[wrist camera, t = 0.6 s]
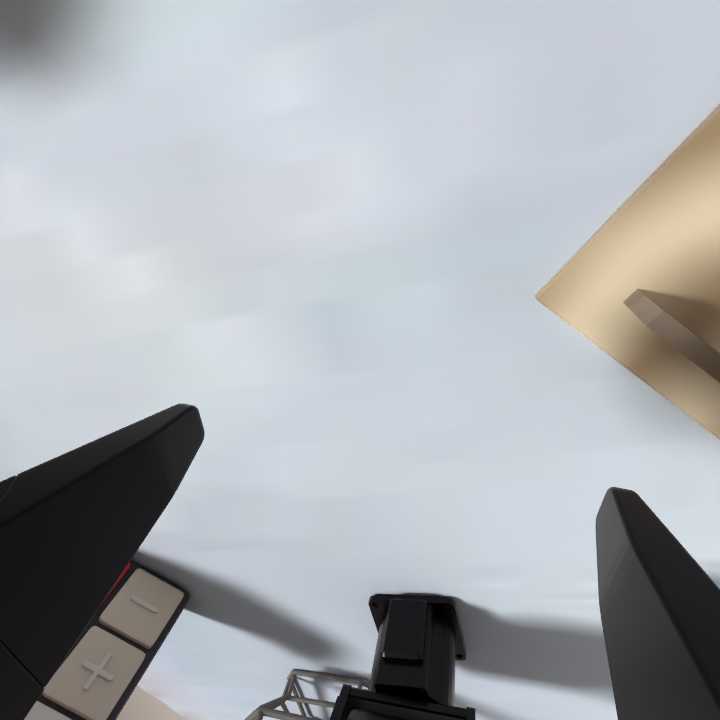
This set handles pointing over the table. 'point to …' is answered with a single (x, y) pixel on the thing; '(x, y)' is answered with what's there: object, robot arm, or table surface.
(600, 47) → the table surface
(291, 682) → the geometric lantern
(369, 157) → the table surface
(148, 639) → the red and beige box
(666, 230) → the shelf slot
